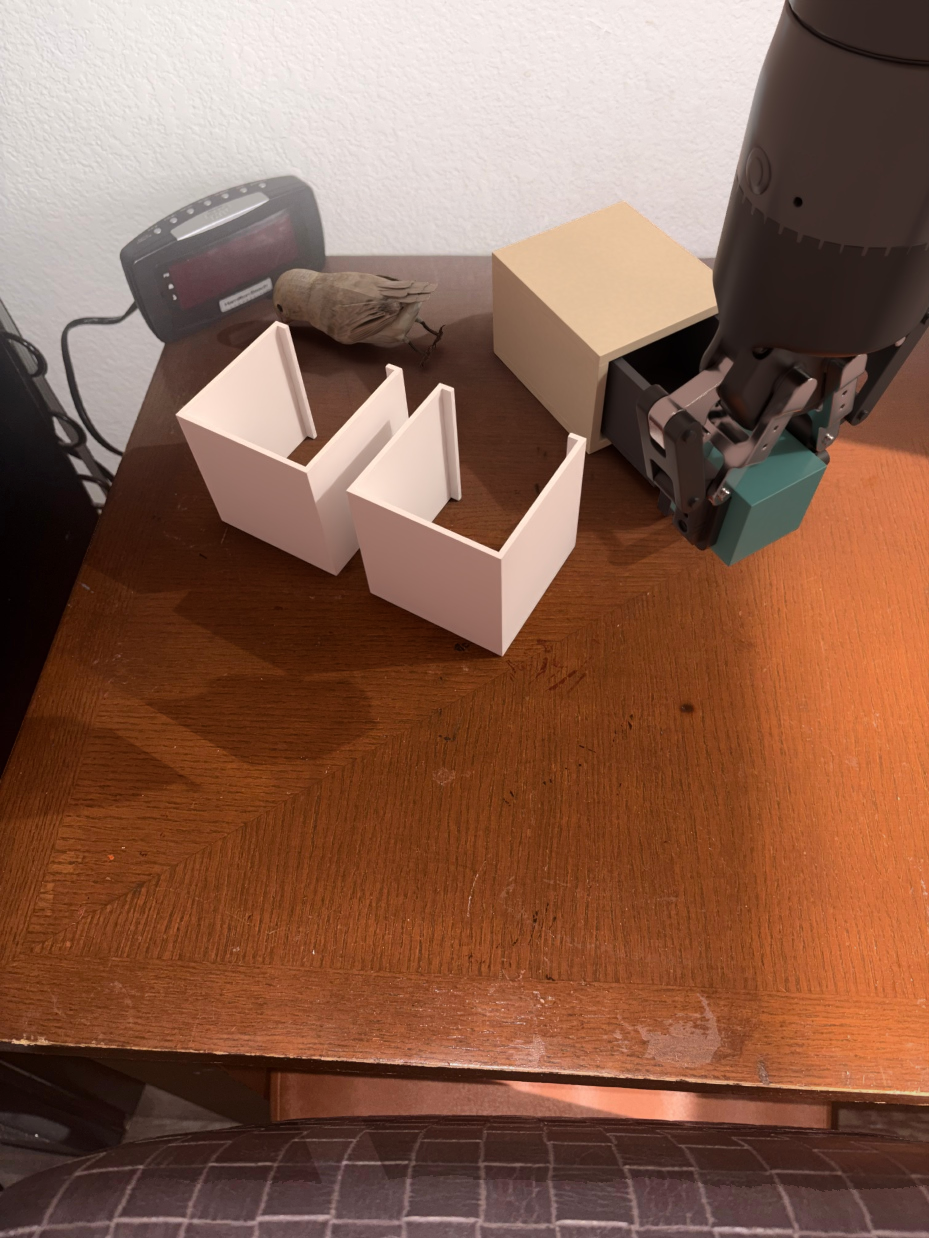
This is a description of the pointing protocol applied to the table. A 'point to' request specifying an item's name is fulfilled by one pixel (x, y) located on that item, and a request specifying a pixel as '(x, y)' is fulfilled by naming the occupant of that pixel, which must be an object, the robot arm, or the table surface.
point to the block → (767, 498)
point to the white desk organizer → (374, 493)
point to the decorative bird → (354, 305)
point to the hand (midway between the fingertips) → (735, 513)
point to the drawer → (651, 365)
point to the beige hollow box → (591, 307)
